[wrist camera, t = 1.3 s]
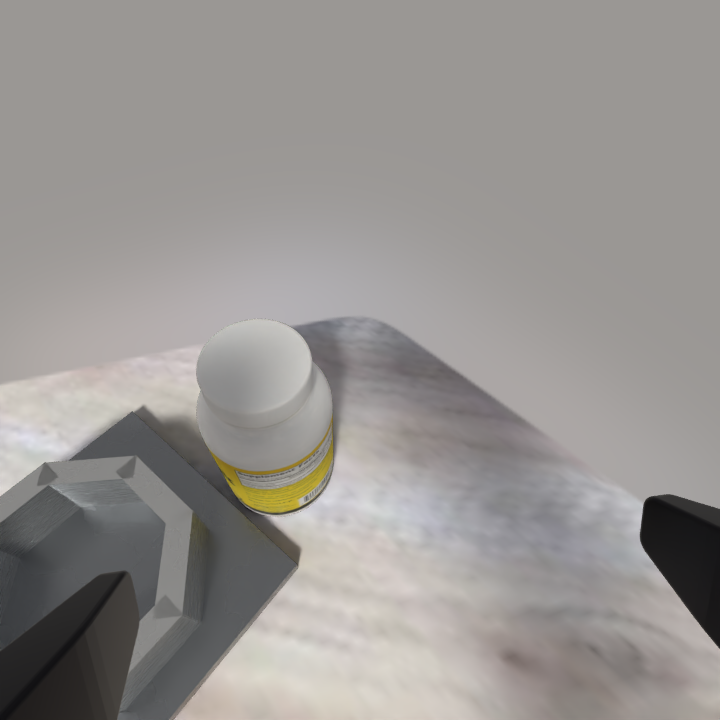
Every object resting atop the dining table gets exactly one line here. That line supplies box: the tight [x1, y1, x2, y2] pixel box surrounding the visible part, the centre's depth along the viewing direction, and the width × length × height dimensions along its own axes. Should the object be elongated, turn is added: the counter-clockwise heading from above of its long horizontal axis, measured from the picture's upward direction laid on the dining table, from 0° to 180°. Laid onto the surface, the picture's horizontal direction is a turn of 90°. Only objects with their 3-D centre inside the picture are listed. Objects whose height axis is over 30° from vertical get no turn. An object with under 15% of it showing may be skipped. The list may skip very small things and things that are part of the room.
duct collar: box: [0, 411, 298, 720], centre depth 18 cm, size 12×12×4 cm
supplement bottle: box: [196, 319, 333, 517], centre depth 20 cm, size 5×5×10 cm
